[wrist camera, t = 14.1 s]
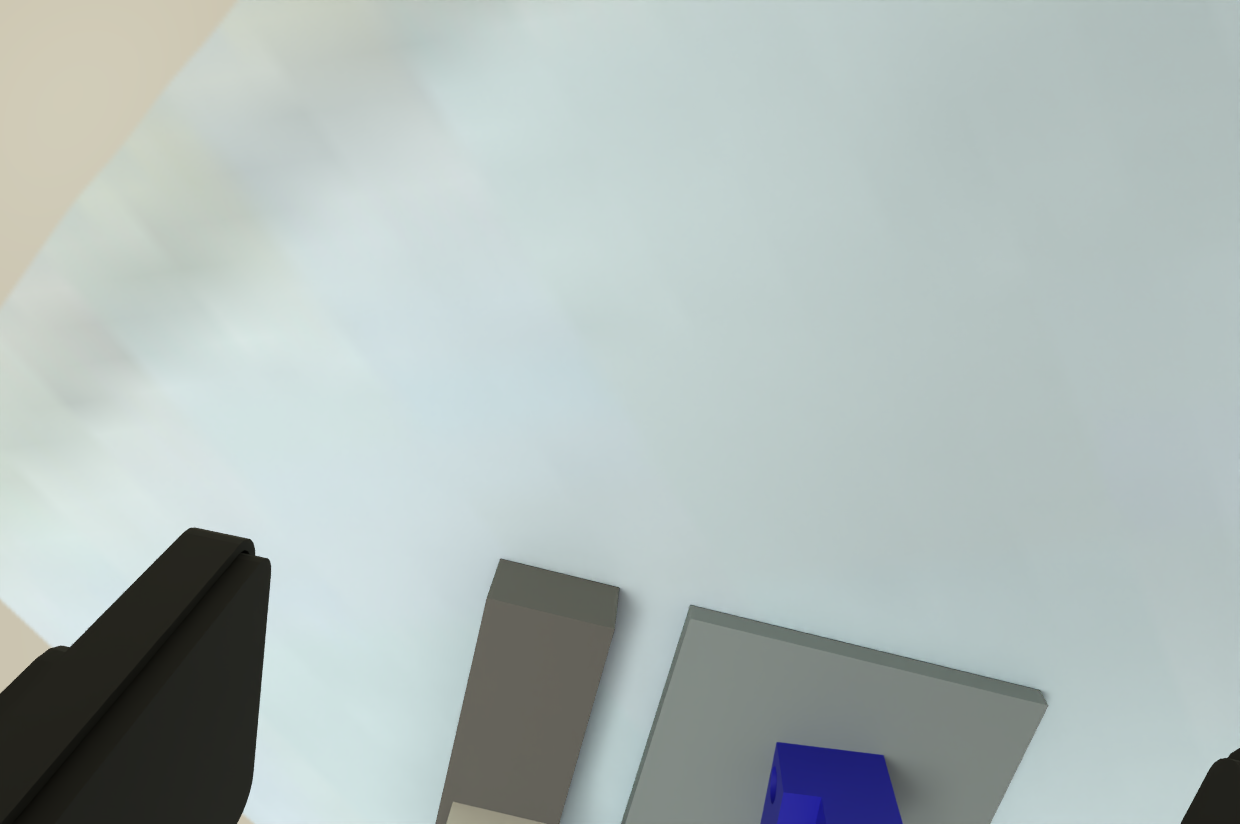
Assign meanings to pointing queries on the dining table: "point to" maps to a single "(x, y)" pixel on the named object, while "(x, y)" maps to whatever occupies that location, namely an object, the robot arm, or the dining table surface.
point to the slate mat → (823, 725)
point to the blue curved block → (828, 787)
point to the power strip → (528, 697)
